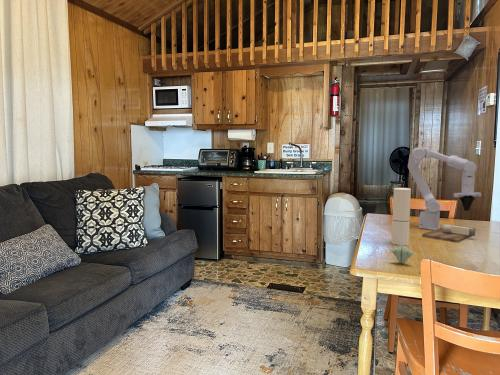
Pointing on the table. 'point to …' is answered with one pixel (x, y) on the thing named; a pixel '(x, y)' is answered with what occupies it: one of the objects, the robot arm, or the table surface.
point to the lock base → (445, 235)
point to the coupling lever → (458, 230)
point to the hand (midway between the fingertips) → (466, 210)
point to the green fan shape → (402, 254)
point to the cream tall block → (401, 216)
